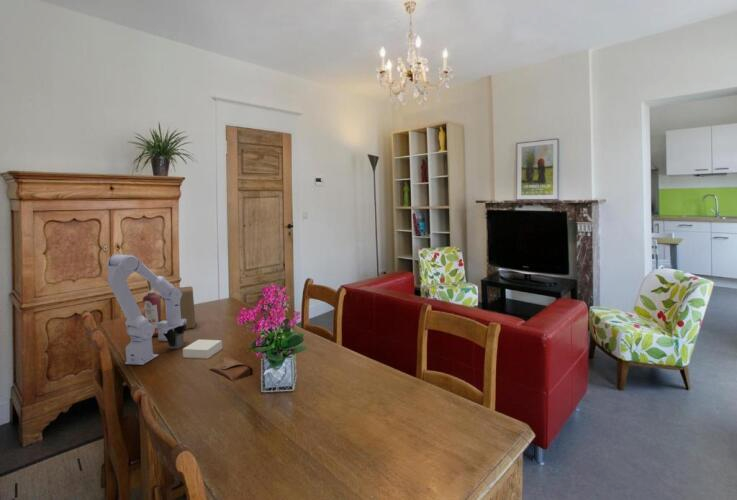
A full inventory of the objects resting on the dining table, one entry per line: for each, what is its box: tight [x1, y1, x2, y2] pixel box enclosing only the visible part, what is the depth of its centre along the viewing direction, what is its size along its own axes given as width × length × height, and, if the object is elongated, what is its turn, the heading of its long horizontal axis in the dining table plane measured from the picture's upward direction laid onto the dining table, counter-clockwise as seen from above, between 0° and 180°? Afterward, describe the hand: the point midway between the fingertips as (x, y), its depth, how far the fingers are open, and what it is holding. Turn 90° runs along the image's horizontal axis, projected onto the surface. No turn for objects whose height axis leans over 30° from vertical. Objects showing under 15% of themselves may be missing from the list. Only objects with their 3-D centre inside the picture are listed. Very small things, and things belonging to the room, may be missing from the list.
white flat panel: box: [182, 339, 223, 359], centre depth 164 cm, size 11×11×4 cm
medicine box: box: [157, 320, 174, 342], centre depth 180 cm, size 8×4×9 cm, turn 84°
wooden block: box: [178, 286, 196, 330], centre depth 198 cm, size 10×10×20 cm
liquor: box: [142, 279, 162, 338], centre depth 186 cm, size 7×7×28 cm
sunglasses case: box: [208, 355, 254, 382], centre depth 146 cm, size 18×7×7 cm, turn 53°
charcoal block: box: [167, 333, 185, 350], centre depth 172 cm, size 4×4×6 cm
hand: (175, 343), depth 172 cm, fingers closed on charcoal block, 4 cm apart
